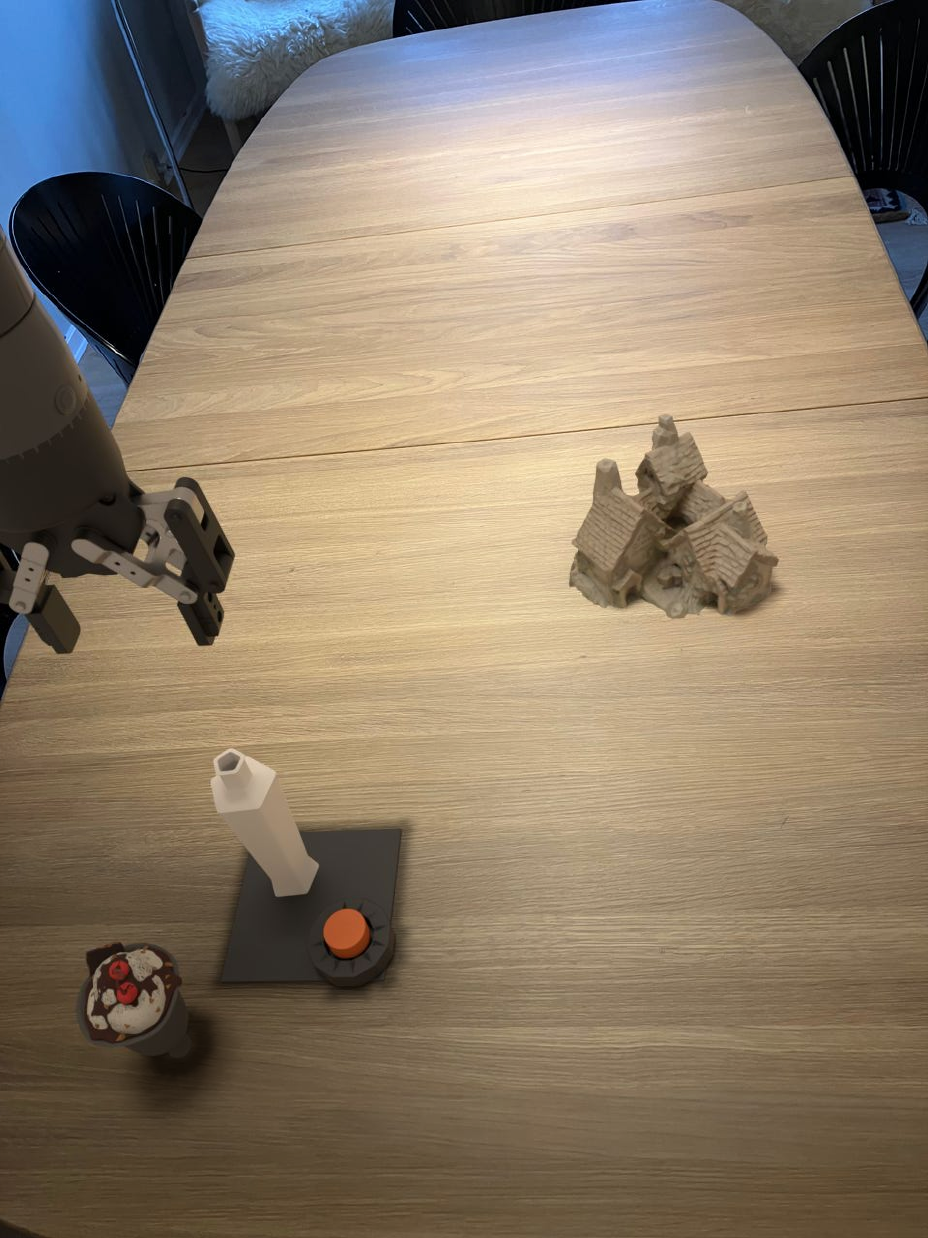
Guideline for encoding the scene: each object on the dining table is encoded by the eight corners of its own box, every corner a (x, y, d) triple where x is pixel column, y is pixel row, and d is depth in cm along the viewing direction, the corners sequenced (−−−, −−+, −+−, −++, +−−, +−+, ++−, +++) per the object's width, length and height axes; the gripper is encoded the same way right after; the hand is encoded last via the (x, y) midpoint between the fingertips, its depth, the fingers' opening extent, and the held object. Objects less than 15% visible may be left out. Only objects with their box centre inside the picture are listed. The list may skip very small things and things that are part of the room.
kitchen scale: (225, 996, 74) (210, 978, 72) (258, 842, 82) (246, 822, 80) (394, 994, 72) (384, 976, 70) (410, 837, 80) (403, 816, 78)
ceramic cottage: (550, 562, 98) (542, 439, 86) (702, 504, 101) (714, 378, 89) (628, 680, 88) (632, 560, 77) (794, 613, 91) (822, 487, 79)
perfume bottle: (251, 886, 78) (179, 775, 67) (288, 841, 80) (224, 726, 69) (295, 914, 76) (228, 804, 65) (332, 867, 78) (273, 753, 67)
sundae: (230, 1095, 69) (143, 1006, 58) (133, 1109, 70) (29, 1023, 59) (237, 999, 74) (157, 900, 63) (146, 1012, 74) (51, 917, 63)
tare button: (325, 959, 72) (320, 949, 71) (332, 919, 74) (326, 909, 73) (367, 958, 71) (362, 949, 70) (373, 918, 73) (367, 908, 72)
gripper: (172, 345, 49) (271, 584, 60) (-100, 373, 51) (46, 598, 63) (127, 445, 44) (244, 684, 55) (-173, 471, 46) (1, 696, 58)
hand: (139, 638), depth 59 cm, fingers open, 8 cm apart
